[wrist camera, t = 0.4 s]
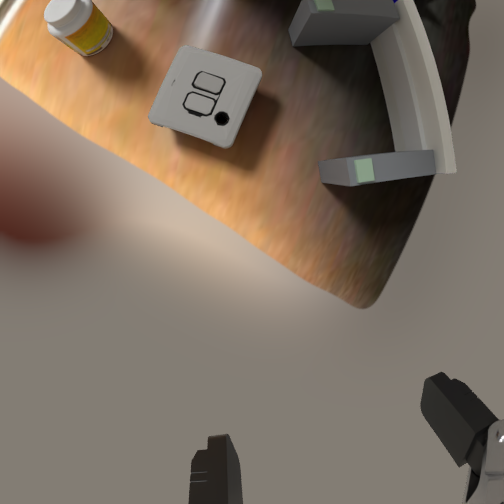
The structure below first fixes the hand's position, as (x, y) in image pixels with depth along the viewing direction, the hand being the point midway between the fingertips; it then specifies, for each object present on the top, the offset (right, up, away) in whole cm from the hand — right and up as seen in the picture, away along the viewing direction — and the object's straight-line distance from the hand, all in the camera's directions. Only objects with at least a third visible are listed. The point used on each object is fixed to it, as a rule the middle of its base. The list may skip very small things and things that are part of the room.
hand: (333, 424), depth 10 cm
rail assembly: (+8, +25, +22) cm, 34 cm away
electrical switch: (-4, +22, +22) cm, 32 cm away
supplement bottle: (-23, +33, +18) cm, 44 cm away
